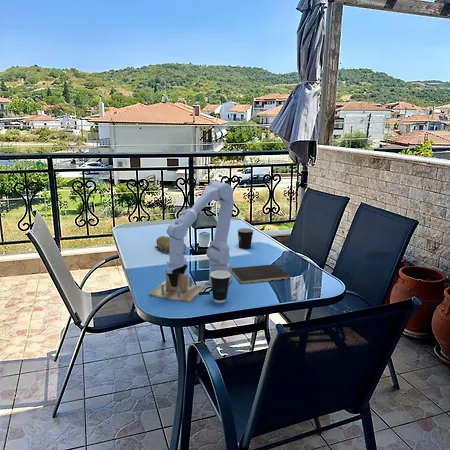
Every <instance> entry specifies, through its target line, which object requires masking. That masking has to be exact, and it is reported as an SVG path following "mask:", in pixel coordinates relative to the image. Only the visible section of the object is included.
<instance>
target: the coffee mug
mask: <svg viewBox="0 0 450 450" xmlns="http://www.w3.org/2000/svg"><path fill="white" fill-rule="evenodd" d="M253 235H254V230H253V229H252V228H250V227H249V228H247V227H241V228H238V229H237V237H238V248H239V249H242V250H249V249H251V247H252V240H253Z"/></svg>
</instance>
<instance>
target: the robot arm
mask: <svg viewBox="0 0 450 450" xmlns="http://www.w3.org/2000/svg"><path fill="white" fill-rule="evenodd" d="M234 191H235V190H234V188H233V187H232V186H231V184H229V183H226V182H222V181H218V180H212V181H210V182H209V183H208V185H207V186H205V188H204V191H203V193H202V194H201V195H200V196H199V197H198V199H197V200H196V202H194V204H193V205H192V207H191V208H186V209H184V210H182V212H181V213H182V214H180V215H179V217H178V218H177V219H175V220H174V222H171V223H170V224H169V225H168V226H167V229H166V234H167V235H168V237H169V249H170V252H169V260H168V261H167V262H166V264H167V265H168V266H167V268H166V270H165V275H166V274H167V275H168V277H169V279H170V283H171V286H172V287H177V283H178V276H179V274H185V273H186V270H187V268H188V264H186V263H187V257H185V251H184V244H185V242H184V241H185V237H186V236H187V233H188V231H189V228H190V227H191V226H192V225H193V224H194V223H195V222H196V221H197V219H198V214H199V213H200V212H201V211H202V210H203V209H204V208H206V206H207V205H208V204H209V203H210V202H212V201H217V202H218V203H219V212H218V217H217V222H216V227H215V233H214V238H213V240H212V241H210V242H209V247H208V248H207V250H206V257H207V259H208V262H209V267H208V268H209V271H208V272H209V273H208V275H209V276H208V278H209V279H208V280H207V281H206V282H205V284H207V285H212V282H211V276H210V273H211V272H213V271H227V272H229V273H230V277H229V284H231V282H232V280H233V279H232V274H233V273H232V268H233V267H232V264H229V263H228V262H229V260H230V259H231V258H230V257H231V255H230V247H229V245H228V243H227V242H228V236H229V230H230V226H231V220H232V214H233V211H234V205H235V204H234V203H235V199H234Z"/></svg>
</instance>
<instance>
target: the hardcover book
mask: <svg viewBox="0 0 450 450" xmlns="http://www.w3.org/2000/svg"><path fill="white" fill-rule="evenodd" d="M232 274H233V276H234V277H235V279H237V280H238V282H240V283H241V284H251V282H254V283H261V282H260V281H264V282H272V281H271V280H274V281H281V279H284V280H289V279H290V278H289V277H290V275H289V274H288V273H287V272H285V270H283V269H282V268H281V267H279V265H277V264H276V263H274V264H262V265H252V266H239V267H232Z"/></svg>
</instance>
